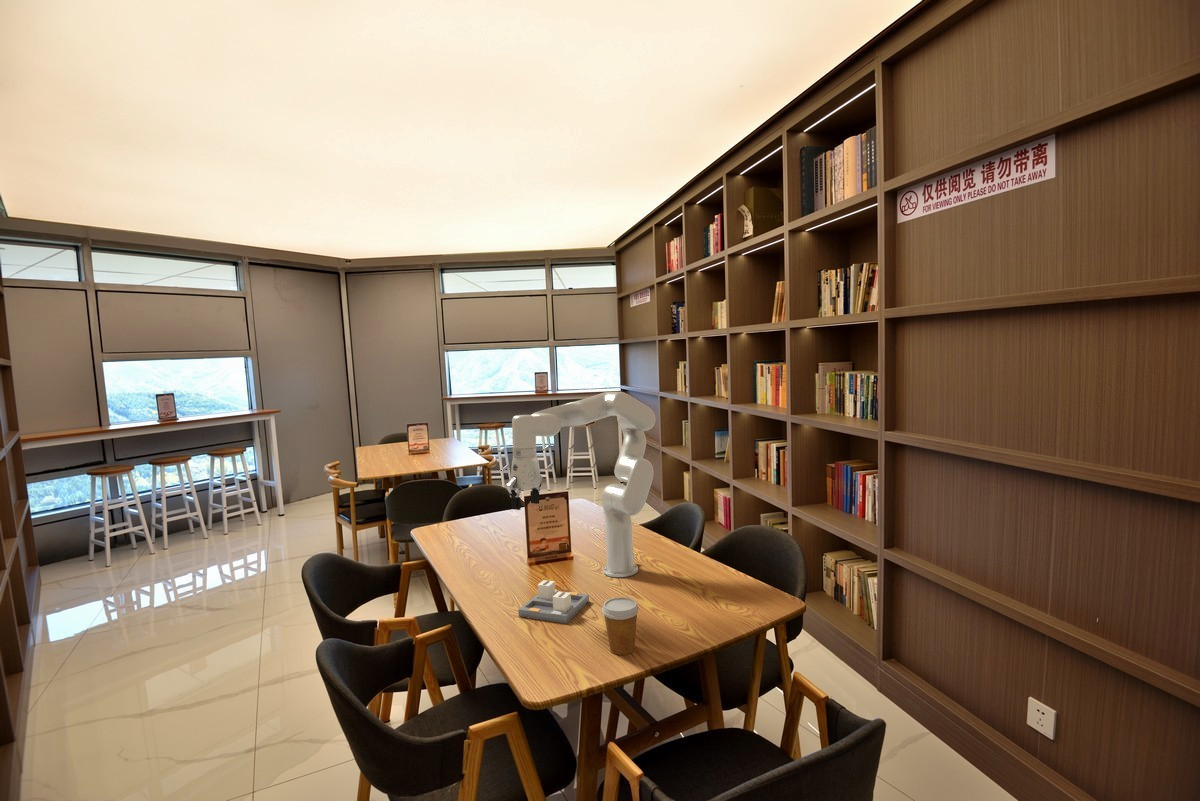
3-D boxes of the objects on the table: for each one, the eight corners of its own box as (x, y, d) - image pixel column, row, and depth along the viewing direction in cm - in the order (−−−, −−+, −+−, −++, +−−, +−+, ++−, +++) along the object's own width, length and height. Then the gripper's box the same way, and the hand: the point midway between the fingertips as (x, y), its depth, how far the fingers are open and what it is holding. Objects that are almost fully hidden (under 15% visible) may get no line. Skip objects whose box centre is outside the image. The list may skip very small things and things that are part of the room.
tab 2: (544, 595, 177) (543, 579, 176) (555, 596, 175) (554, 580, 175) (538, 600, 173) (537, 583, 173) (549, 601, 171) (548, 585, 171)
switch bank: (544, 595, 180) (543, 588, 179) (589, 601, 173) (588, 593, 173) (518, 616, 165) (518, 608, 165) (566, 623, 159) (566, 615, 159)
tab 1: (559, 607, 167) (558, 590, 166) (571, 609, 165) (570, 591, 165) (553, 613, 163) (552, 595, 163) (565, 614, 161) (564, 597, 161)
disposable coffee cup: (646, 644, 144) (644, 599, 143) (630, 662, 136) (627, 614, 135) (615, 637, 149) (613, 594, 148) (597, 653, 141) (594, 607, 140)
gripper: (516, 457, 167) (517, 513, 168) (549, 450, 182) (550, 502, 183) (497, 456, 171) (498, 510, 172) (531, 449, 186) (532, 500, 186)
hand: (525, 506), depth 177 cm, fingers open, 9 cm apart
